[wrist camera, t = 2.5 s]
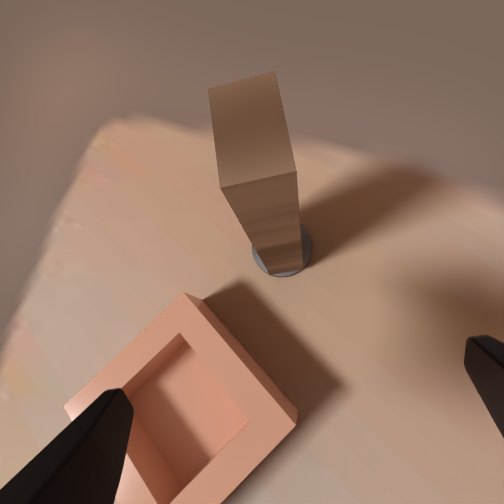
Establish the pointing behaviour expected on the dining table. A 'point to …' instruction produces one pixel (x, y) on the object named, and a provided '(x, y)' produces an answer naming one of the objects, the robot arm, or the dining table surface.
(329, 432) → the dining table surface
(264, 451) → the pink square bin
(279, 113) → the tall brown block
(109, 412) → the robot arm
